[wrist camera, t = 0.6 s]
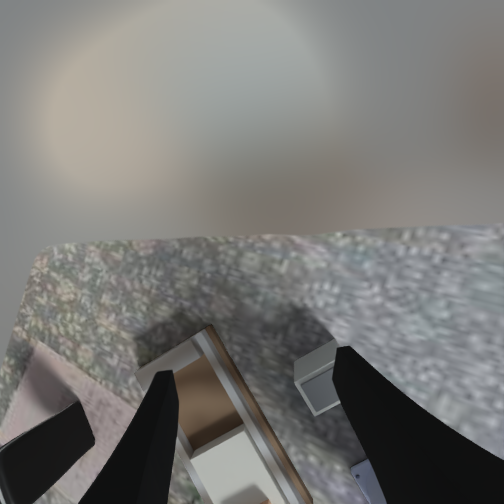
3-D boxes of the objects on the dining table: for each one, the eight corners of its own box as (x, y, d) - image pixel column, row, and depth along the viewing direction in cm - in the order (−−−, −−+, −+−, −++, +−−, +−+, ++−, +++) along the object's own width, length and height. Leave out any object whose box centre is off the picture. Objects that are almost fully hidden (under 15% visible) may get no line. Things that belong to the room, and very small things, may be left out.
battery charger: (59, 407, 40) (-35, 466, 28) (80, 397, 39) (-7, 454, 28) (76, 453, 39) (-12, 532, 28) (98, 444, 38) (16, 521, 27)
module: (352, 366, 33) (366, 391, 27) (311, 389, 34) (314, 419, 28) (334, 338, 34) (344, 356, 28) (294, 361, 35) (294, 384, 28)
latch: (289, 496, 33) (288, 530, 29) (234, 523, 34) (226, 559, 30) (246, 421, 34) (240, 444, 30) (195, 449, 35) (181, 475, 31)
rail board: (312, 498, 34) (315, 530, 30) (233, 538, 35) (225, 573, 31) (211, 324, 36) (201, 332, 32) (141, 367, 38) (123, 379, 34)
